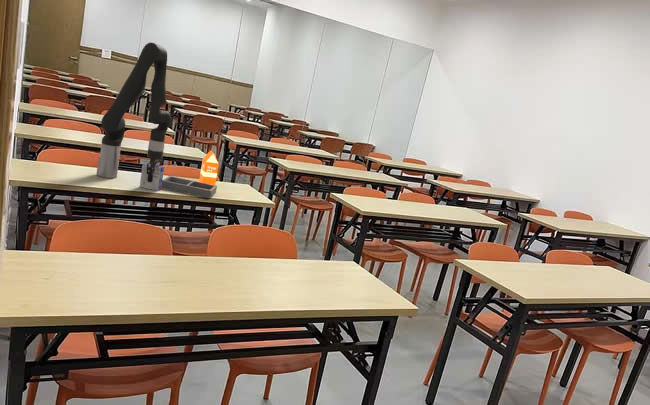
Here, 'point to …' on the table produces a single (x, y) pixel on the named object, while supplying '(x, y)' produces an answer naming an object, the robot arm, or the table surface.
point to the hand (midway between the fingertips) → (151, 180)
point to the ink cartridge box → (156, 180)
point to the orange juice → (209, 169)
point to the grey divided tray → (189, 186)
